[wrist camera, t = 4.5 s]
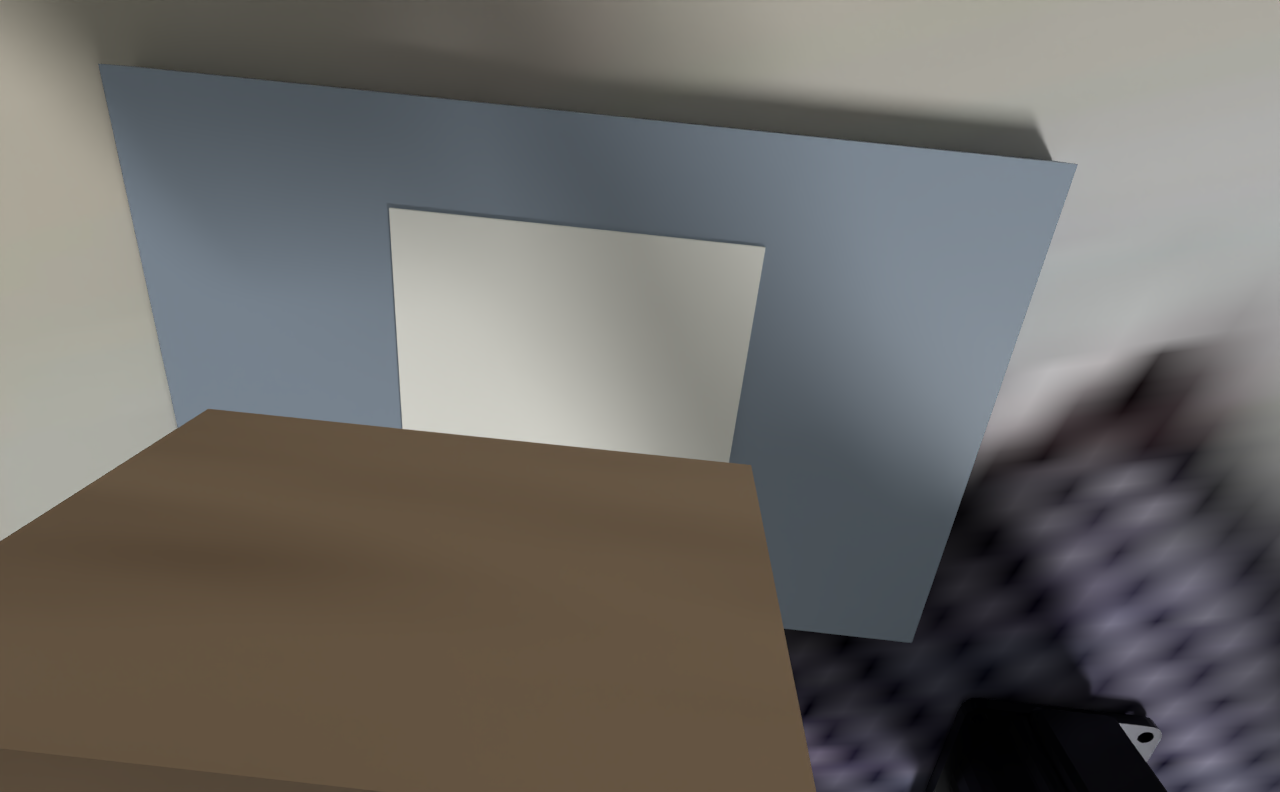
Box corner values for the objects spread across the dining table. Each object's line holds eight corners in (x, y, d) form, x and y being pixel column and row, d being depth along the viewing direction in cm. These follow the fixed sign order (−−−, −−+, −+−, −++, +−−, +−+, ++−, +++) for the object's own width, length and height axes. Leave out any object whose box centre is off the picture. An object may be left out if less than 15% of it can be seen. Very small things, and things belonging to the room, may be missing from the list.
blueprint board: (901, 619, 21) (912, 645, 20) (227, 544, 21) (205, 565, 20) (1054, 160, 15) (1080, 165, 14) (131, 65, 16) (94, 63, 15)
